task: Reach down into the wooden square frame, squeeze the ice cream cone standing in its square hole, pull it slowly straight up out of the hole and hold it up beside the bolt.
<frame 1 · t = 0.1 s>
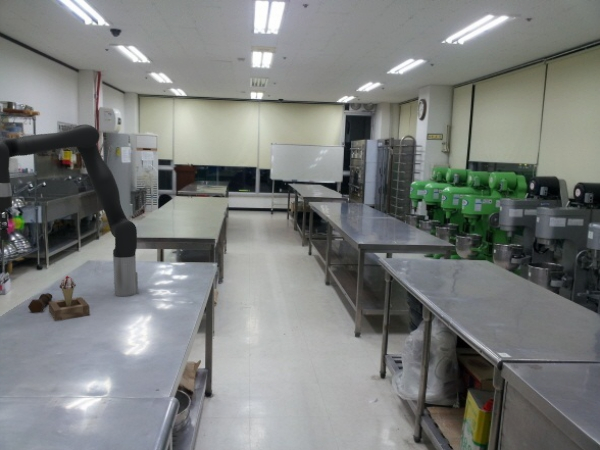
hand: (3, 237, 179), 29 cm above the table, tool pointing down, fingers open, 8 cm apart
bolt: (43, 307, 191), on the table
wooden square frame: (69, 313, 184), on the table
ice cream cone: (69, 313, 184), resting in wooden square frame
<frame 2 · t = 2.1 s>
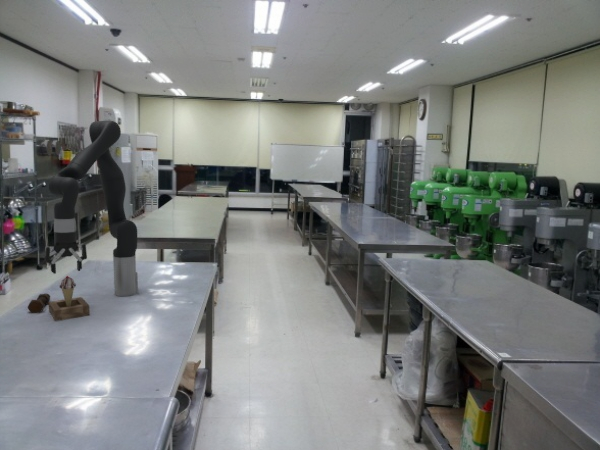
hand: (66, 271, 182), 17 cm above the table, tool pointing down, fingers open, 8 cm apart
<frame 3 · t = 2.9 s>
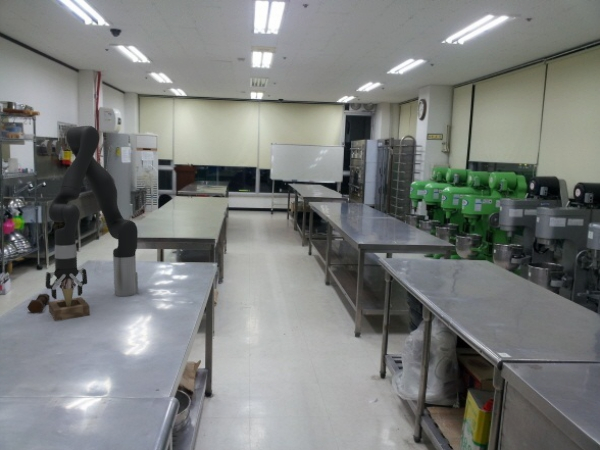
hand: (67, 296, 183), 7 cm above the table, tool pointing down, fingers open, 8 cm apart
nothing on the table moved.
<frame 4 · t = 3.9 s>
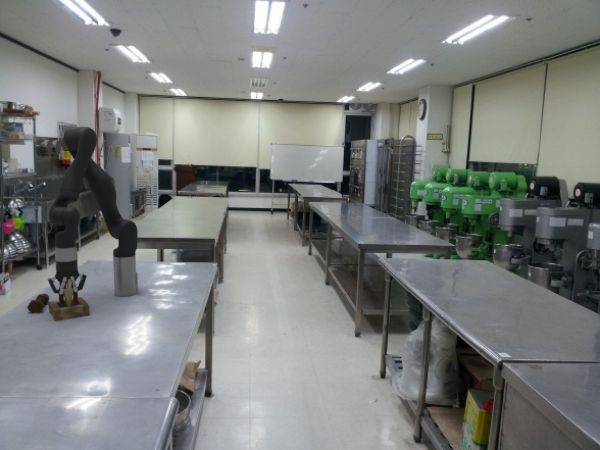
hand: (68, 301, 183), 5 cm above the table, tool pointing down, fingers closed on ice cream cone, 3 cm apart
ice cream cone: (69, 313, 184), resting in wooden square frame, touching gripper
everything else where it was.
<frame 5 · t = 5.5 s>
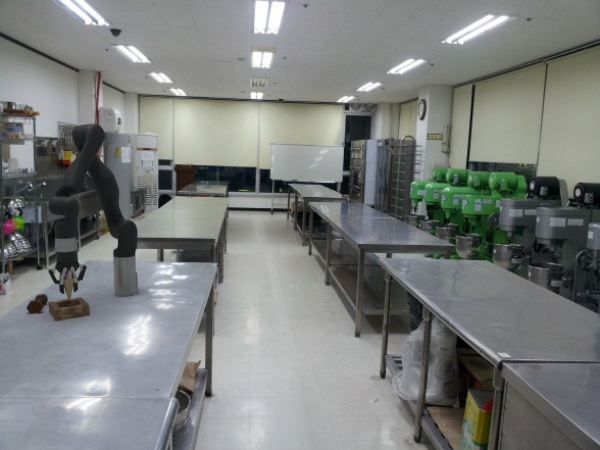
hand: (68, 292, 183), 8 cm above the table, tool pointing down, fingers closed on ice cream cone, 3 cm apart
ice cream cone: (69, 304, 184), point 3 cm above the table, touching gripper
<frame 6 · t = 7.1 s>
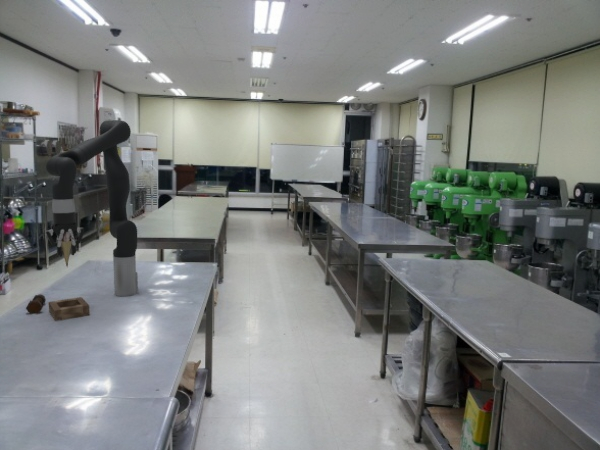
hand: (66, 255, 181), 23 cm above the table, tool pointing down, fingers closed on ice cream cone, 3 cm apart
ice cream cone: (67, 268, 181), point 18 cm above the table, touching gripper
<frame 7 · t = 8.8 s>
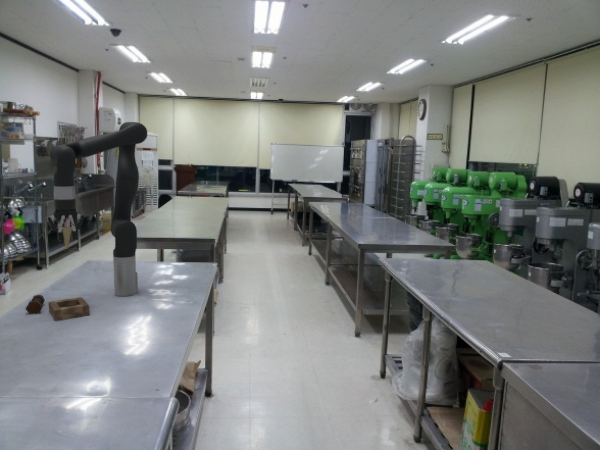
hand: (66, 240, 188), 27 cm above the table, tool pointing down, fingers closed on ice cream cone, 3 cm apart
ice cream cone: (67, 252, 189), point 22 cm above the table, touching gripper
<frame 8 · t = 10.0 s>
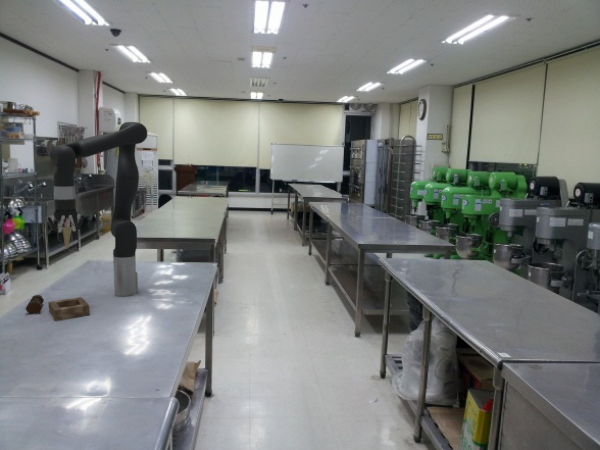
hand: (66, 240, 188), 27 cm above the table, tool pointing down, fingers closed on ice cream cone, 3 cm apart
ice cream cone: (67, 252, 189), point 22 cm above the table, touching gripper
at the end: the gripper is holding ice cream cone; ice cream cone point 22.2 cm above the table; ice cream cone touching gripper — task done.
